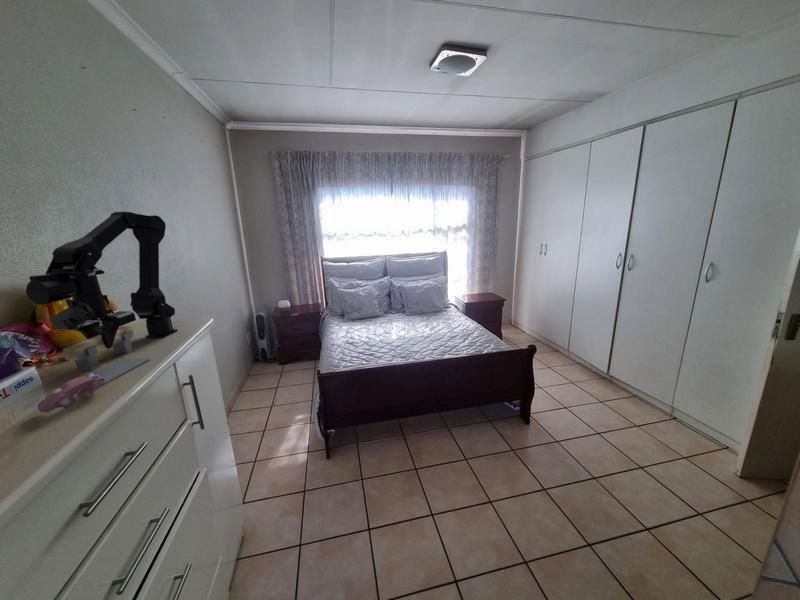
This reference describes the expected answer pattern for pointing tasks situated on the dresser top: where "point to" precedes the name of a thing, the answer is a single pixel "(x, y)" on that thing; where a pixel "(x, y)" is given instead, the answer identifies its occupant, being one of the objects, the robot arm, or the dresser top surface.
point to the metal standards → (90, 359)
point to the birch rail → (93, 344)
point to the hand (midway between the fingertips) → (103, 348)
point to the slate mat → (118, 368)
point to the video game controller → (71, 392)
